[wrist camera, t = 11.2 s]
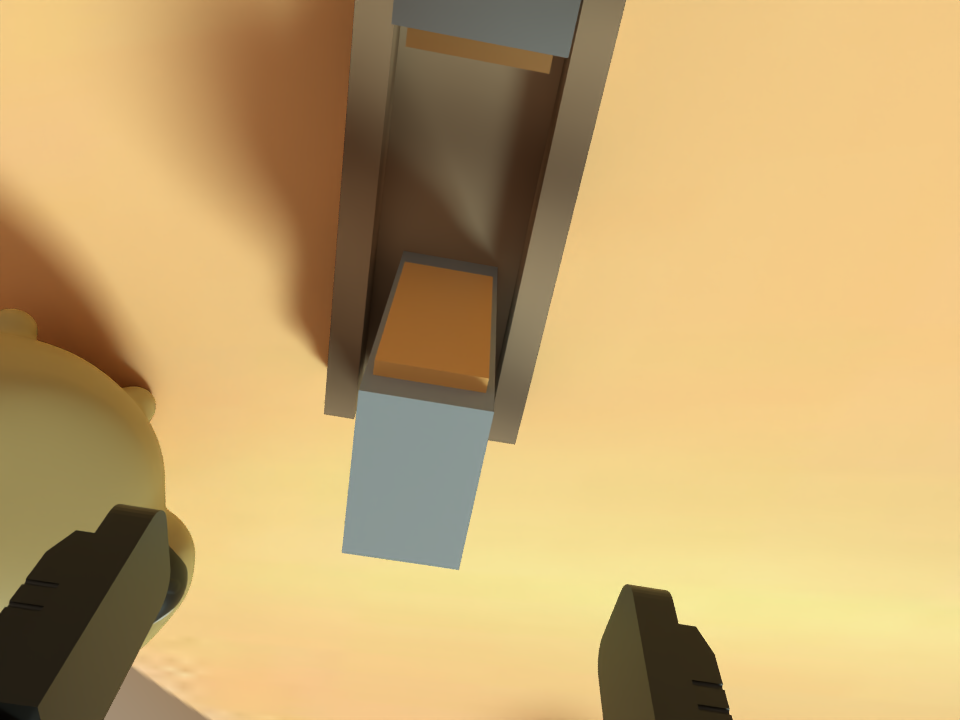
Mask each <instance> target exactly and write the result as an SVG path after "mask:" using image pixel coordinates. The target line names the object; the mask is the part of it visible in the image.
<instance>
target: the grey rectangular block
mask: <svg viewBox="0 0 960 720" xmlns="http://www.w3.org/2000/svg"><path fill="white" fill-rule="evenodd" d="M497 273H498V267H494V266H488V265H482V264H477V263H471V262H465V261H459V260H454V259H448V258H442V257H436V256H431V255H425V254H419V253H413V252H407V251H403V254H402V257H401V261H400V264H399V267H398V270H397V273H396V276H395V279H394V282H393V285H392V288H391V292H390V295H389V298H388V301H387V304H386V307H385V310H384V313H383V316H382V319H381V323H380V326H379V329H378V332H377V335H376V338H375V341H374V344H373V347H372V350H371V354H370V357H369V360H368V363H367V366H366V369H365V372H364V375H363V378H362V381H361V384H360V388H359V392H358V401H357V411H356V421H355V430H354V440H353V450H352V460H351V469H350V479H349V489H348V498H347V508H346V518H345V528H344V537H343V547H342V553H347V554H354V555H361V556H368V557H375V558H381V559H388V560H395V561H402V562H409V563H416V564H422V565H429V566H436V567H443V568H450V569H456V570H459V567H460V562H461V558H462V553H463V549H464V544H465V540H466V535H467V531H468V526H469V522H470V518H471V513H472V509H473V504H474V500H475V495H476V491H477V486H478V482H479V477H480V473H481V468H482V464H483V459H484V455H485V451H486V446H487V442H488V437H489V433H490V428H491V424H492V419H493V415H494V397H495V355H496V314H497Z"/></svg>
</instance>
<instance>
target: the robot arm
mask: <svg viewBox="0 0 960 720" xmlns="http://www.w3.org/2000/svg"><path fill="white" fill-rule="evenodd" d="M169 581H170V557H169V543H168V529H167V518H166V513H165V512H164V511H163V510H157V509H150V508H144V507H137V506H131V505H125V504H117V505H115V506H114V507H113V508H112V509H111V510H110V511H109V513H108V514H107V515H106V517H105V518H104V520H103V521H102V523H101V524H100V526H99V527H98V529H97V530H96V531H95V533H92V532H85V531H79V530H76V531H74V532H73V533H71V534H70V535H69V536H67V537H66V538H64V539H63V540H62V541H60V542H59V543H57V544H56V545H55V546H53V547H52V548H50V549H49V550H48V551H46V552H45V554H44V555H43V556H42V558H41V559H40V560H39V562H38V563H37V564H36V566H35V567H34V568H33V570H32V571H31V572H30V574H29V575H28V576H27V578H26V581H25V583H24V584H21V586H20V587H19V588H18V590H17V591H16V592H15V594H14V595H13V596H12V598H11V599H10V600H9V605H8V606H7V607H4V609H3V610H2V611H1V613H0V720H104V718H105V716H106V714H107V712H108V710H109V708H110V706H111V704H112V702H113V700H114V699H115V697H116V695H117V693H118V691H119V689H120V687H121V685H122V683H123V681H124V679H125V677H126V675H127V673H128V671H129V669H130V667H131V666H132V664H133V662H134V660H135V658H136V656H137V654H138V652H139V650H140V648H141V646H142V644H143V642H144V640H145V638H146V637H147V635H148V633H149V631H150V629H151V627H152V625H153V623H154V621H155V619H156V617H157V615H158V613H159V611H160V609H161V607H162V605H163V603H164V600H165V597H166V594H167V590H168V586H169ZM598 677H599V686H600V694H601V703H602V712H603V720H732V716H731V715H729V705H728V701H727V698H726V694H725V690H723V689H722V685H723V683H722V680H721V676H720V672H719V669H718V665H717V661H716V658H715V654H714V653H713V651H712V650H711V648H710V647H709V645H708V644H707V642H706V641H705V639H704V638H703V637H702V635H701V634H700V632H699V631H698V629H697V628H696V627H695V626H688V625H682V624H678V620H677V615H676V611H675V607H674V603H673V599H672V596H671V594H670V593H669V592H668V591H666V590H660V589H654V588H648V587H641V586H635V585H628V584H626V585H625V586H624V587H623V588H622V590H621V592H620V595H619V597H618V600H617V602H616V605H615V607H614V610H613V612H612V614H611V617H610V619H609V622H608V624H607V627H606V629H605V632H604V634H603V637H602V639H601V643H600V648H599V656H598Z"/></svg>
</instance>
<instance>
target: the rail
mask: <svg viewBox="0 0 960 720" xmlns="http://www.w3.org/2000/svg"><path fill="white" fill-rule="evenodd" d="M625 2H626V0H355V7H354V20H353V33H352V47H351V60H350V74H349V87H348V100H347V114H346V127H345V141H344V154H343V167H342V181H341V194H340V208H339V221H338V234H337V248H336V261H335V275H334V288H333V301H332V315H331V328H330V341H329V355H328V368H327V382H326V395H325V408H324V414H326V415H332V416H338V417H345V418H351V419H354V417H355V414H356V411H357V401H358V392H359V388H360V384H361V381H362V378H363V375H364V372H365V369H366V366H367V363H368V360H369V357H370V354H371V350H372V347H373V344H374V341H375V338H376V335H377V332H378V329H379V326H380V323H381V319H382V316H383V313H384V310H385V307H386V304H387V301H388V298H389V295H390V292H391V288H392V285H393V282H394V279H395V276H396V273H397V270H398V267H399V264H400V261H401V257H402V254H403V251H407V252H413V253H419V254H425V255H431V256H436V257H442V258H448V259H454V260H459V261H465V262H471V263H477V264H482V265H488V266H494V267H498V273H497V314H496V355H495V397H494V415H493V419H492V424H491V428H490V433H489V437H488V440H490V441H497V442H503V443H509V444H515V442H516V438H517V434H518V430H519V426H520V422H521V419H522V415H523V411H524V407H525V403H526V399H527V395H528V391H529V387H530V383H531V379H532V375H533V371H534V367H535V363H536V359H537V355H538V351H539V347H540V343H541V339H542V335H543V331H544V327H545V323H546V319H547V315H548V311H549V307H550V303H551V299H552V295H553V291H554V287H555V283H556V279H557V275H558V271H559V267H560V263H561V259H562V255H563V251H564V247H565V243H566V239H567V235H568V231H569V227H570V223H571V219H572V215H573V211H574V207H575V203H576V199H577V195H578V191H579V187H580V183H581V179H582V175H583V171H584V167H585V163H586V159H587V155H588V151H589V147H590V143H591V139H592V135H593V131H594V127H595V123H596V119H597V115H598V111H599V107H600V103H601V99H602V95H603V91H604V87H605V83H606V79H607V75H608V71H609V67H610V63H611V59H612V55H613V51H614V47H615V43H616V39H617V35H618V31H619V27H620V23H621V19H622V15H623V11H624V6H625Z"/></svg>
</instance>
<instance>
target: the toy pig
mask: <svg viewBox="0 0 960 720" xmlns="http://www.w3.org/2000/svg"><path fill="white" fill-rule="evenodd" d="M37 333H38V327H37V324H36V322H35V320H34V319H33V318H32V317H31V316H30V315H29V314H28V313H26V312H24V311H21V310H18V309H2V310H0V613H1V611H2V610H3V609H4V607H7V606H8V605H9V600H10V599H11V598H12V596H13V595H14V594H15V592H16V591H17V590H18V588H19V587H20V586H21V584H24V583H25V581H26V578H27V576H28V575H29V574H30V572H31V571H32V570H33V568H34V567H35V566H36V564H37V563H38V562H39V560H40V559H41V558H42V556H43V555H44V554H45V552H46V551H48V550H49V549H50V548H52V547H53V546H55V545H56V544H57V543H59V542H60V541H62V540H63V539H64V538H66V537H67V536H69V535H70V534H71V533H73V532H74V531H76V530H79V531H85V532H92V533H95V531H96V530H97V529H98V527H99V526H100V524H101V523H102V521H103V520H104V518H105V517H106V515H107V514H108V513H109V511H110V510H111V509H112V508H113V507H114V506H115V505H117V504H125V505H131V506H137V507H144V508H150V509H157V510H163V511H164V512H165V513H166V518H167V529H168V543H169V557H170V581H169V586H168V590H167V594H166V597H165V600H164V603H163V605H162V607H161V609H160V611H159V613H158V615H157V617H156V619H155V621H154V623H153V625H152V627H151V629H150V631H149V633H148V635H147V637H146V638H145V640H144V642H143V644H142V646H141V648H142V647H144V646H145V645H146V644H147V643H148V642H149V641H150V640H151V639H152V638H153V637H154V636H155V635H156V634H157V633H158V632H159V630H160V629H161V628H162V627H163V626H164V625H165V624H166V622H167V621H168V620H169V619H170V618H171V616H172V615H173V614H174V613H175V611H176V610H177V609H178V607H179V606H180V605H181V603H182V602H183V600H184V598H185V596H186V595H187V592H188V590H189V588H190V585H191V581H192V577H193V572H194V564H195V548H194V543H193V540H192V537H191V535H190V533H189V531H188V529H187V528H186V526H185V525H184V524H183V522H182V521H181V520H180V519H179V518H178V517H177V516H176V515H174V514H173V513H172V512H170V511H169V510H168V509H167V508H166V506H165V470H164V462H163V456H162V452H161V448H160V445H159V442H158V439H157V437H156V434H155V432H154V430H153V428H152V426H151V424H150V423H149V422H150V420H151V419H152V417H153V415H154V413H155V409H156V403H155V399H154V397H153V395H152V394H151V393H150V392H149V391H148V390H146V389H144V388H141V387H137V386H131V387H124V388H121V387H120V386H119V385H118V384H117V383H116V382H114V381H113V380H112V379H111V378H110V377H109V376H107V375H106V374H105V373H104V372H102V371H101V370H100V369H98V368H97V367H95V366H94V365H92V364H91V363H89V362H88V361H86V360H84V359H82V358H81V357H79V356H77V355H75V354H73V353H71V352H68V351H66V350H64V349H61V348H59V347H56V346H53V345H51V344H48V343H44V342H41V341H38V340H37ZM141 648H140V649H141Z"/></svg>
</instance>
